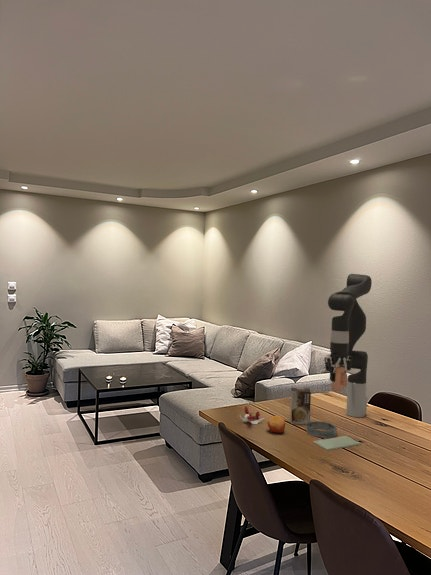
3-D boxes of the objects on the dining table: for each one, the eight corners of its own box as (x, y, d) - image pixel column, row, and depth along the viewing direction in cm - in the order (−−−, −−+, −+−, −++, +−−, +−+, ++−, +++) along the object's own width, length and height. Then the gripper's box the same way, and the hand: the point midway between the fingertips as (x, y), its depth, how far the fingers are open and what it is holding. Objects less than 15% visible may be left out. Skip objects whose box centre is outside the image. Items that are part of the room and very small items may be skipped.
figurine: (266, 428, 199) (267, 414, 199) (242, 428, 198) (242, 414, 198) (259, 417, 214) (260, 404, 214) (236, 418, 213) (237, 404, 213)
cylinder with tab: (329, 388, 185) (330, 365, 185) (338, 388, 187) (339, 365, 187) (340, 393, 179) (341, 369, 178) (350, 392, 181) (351, 368, 180)
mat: (346, 437, 191) (346, 435, 191) (360, 444, 183) (360, 443, 183) (313, 442, 184) (313, 441, 184) (327, 450, 176) (327, 449, 176)
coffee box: (308, 420, 212) (309, 388, 212) (310, 425, 206) (311, 391, 205) (289, 419, 213) (291, 387, 213) (290, 424, 207) (292, 390, 206)
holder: (323, 426, 205) (323, 420, 205) (342, 435, 193) (342, 429, 193) (300, 429, 199) (301, 423, 199) (318, 439, 188) (319, 432, 187)
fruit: (288, 426, 199) (286, 413, 195) (284, 439, 193) (282, 427, 189) (271, 423, 202) (269, 411, 199) (266, 436, 196) (264, 424, 193)
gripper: (331, 343, 177) (330, 384, 177) (358, 341, 183) (357, 381, 183) (320, 340, 184) (318, 380, 184) (346, 339, 190) (345, 377, 190)
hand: (337, 380), depth 184 cm, fingers closed on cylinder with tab, 5 cm apart
